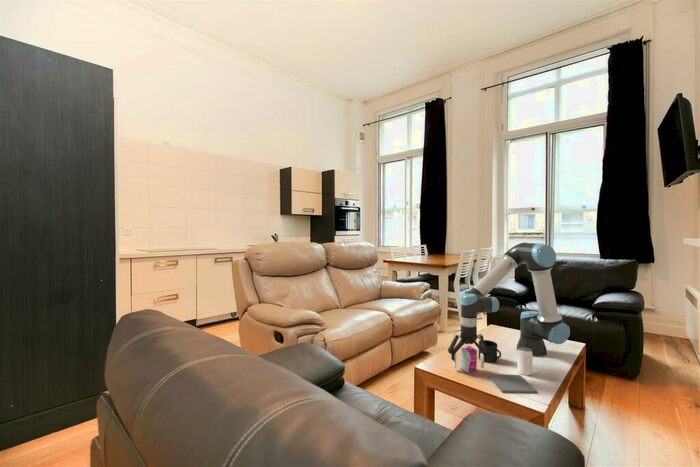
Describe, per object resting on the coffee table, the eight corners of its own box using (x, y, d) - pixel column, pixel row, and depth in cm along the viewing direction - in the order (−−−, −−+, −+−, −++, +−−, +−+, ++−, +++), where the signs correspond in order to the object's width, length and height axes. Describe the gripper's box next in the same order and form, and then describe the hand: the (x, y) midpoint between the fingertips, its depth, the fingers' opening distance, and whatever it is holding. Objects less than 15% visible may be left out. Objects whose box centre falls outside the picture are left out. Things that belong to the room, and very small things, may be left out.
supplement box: (466, 373, 160) (467, 350, 160) (459, 368, 166) (460, 346, 165) (477, 372, 161) (477, 349, 161) (469, 367, 167) (469, 345, 167)
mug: (496, 366, 169) (496, 349, 168) (475, 358, 178) (475, 342, 178) (505, 361, 175) (505, 344, 174) (483, 354, 184) (484, 338, 184)
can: (527, 369, 164) (527, 346, 164) (535, 375, 158) (535, 351, 157) (514, 370, 164) (515, 346, 164) (522, 376, 158) (522, 351, 157)
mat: (520, 377, 156) (520, 375, 156) (537, 393, 141) (537, 390, 141) (488, 376, 157) (488, 374, 157) (502, 392, 142) (502, 390, 142)
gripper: (445, 327, 160) (445, 370, 160) (497, 327, 159) (496, 370, 159) (441, 322, 167) (441, 363, 168) (490, 323, 166) (490, 364, 167)
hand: (468, 367), depth 164 cm, fingers open, 13 cm apart
